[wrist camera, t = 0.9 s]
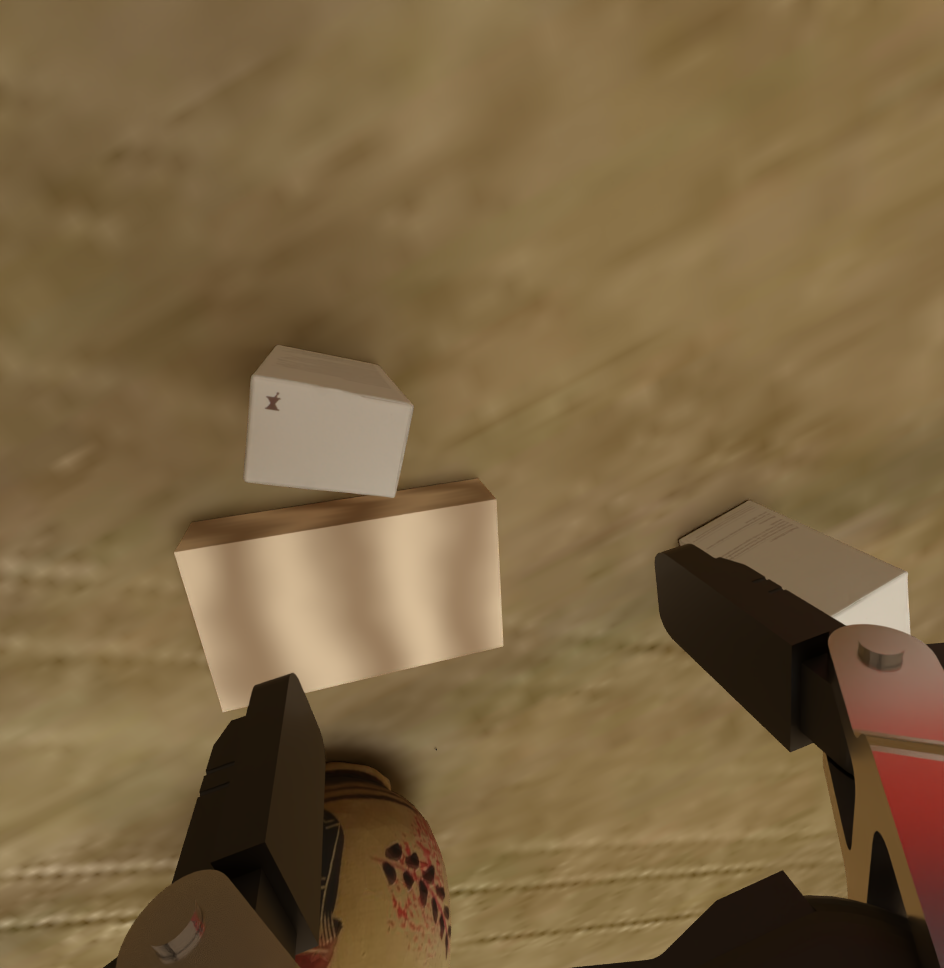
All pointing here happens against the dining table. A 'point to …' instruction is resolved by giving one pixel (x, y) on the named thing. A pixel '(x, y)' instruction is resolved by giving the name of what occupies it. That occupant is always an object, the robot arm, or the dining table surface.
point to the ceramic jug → (378, 879)
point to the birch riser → (344, 587)
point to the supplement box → (809, 565)
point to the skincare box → (325, 424)
